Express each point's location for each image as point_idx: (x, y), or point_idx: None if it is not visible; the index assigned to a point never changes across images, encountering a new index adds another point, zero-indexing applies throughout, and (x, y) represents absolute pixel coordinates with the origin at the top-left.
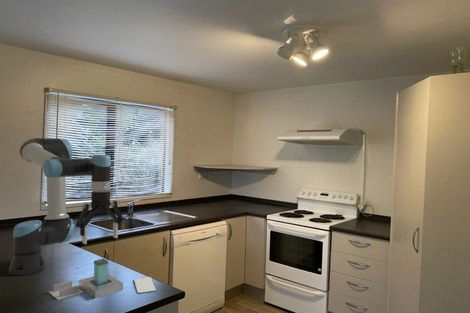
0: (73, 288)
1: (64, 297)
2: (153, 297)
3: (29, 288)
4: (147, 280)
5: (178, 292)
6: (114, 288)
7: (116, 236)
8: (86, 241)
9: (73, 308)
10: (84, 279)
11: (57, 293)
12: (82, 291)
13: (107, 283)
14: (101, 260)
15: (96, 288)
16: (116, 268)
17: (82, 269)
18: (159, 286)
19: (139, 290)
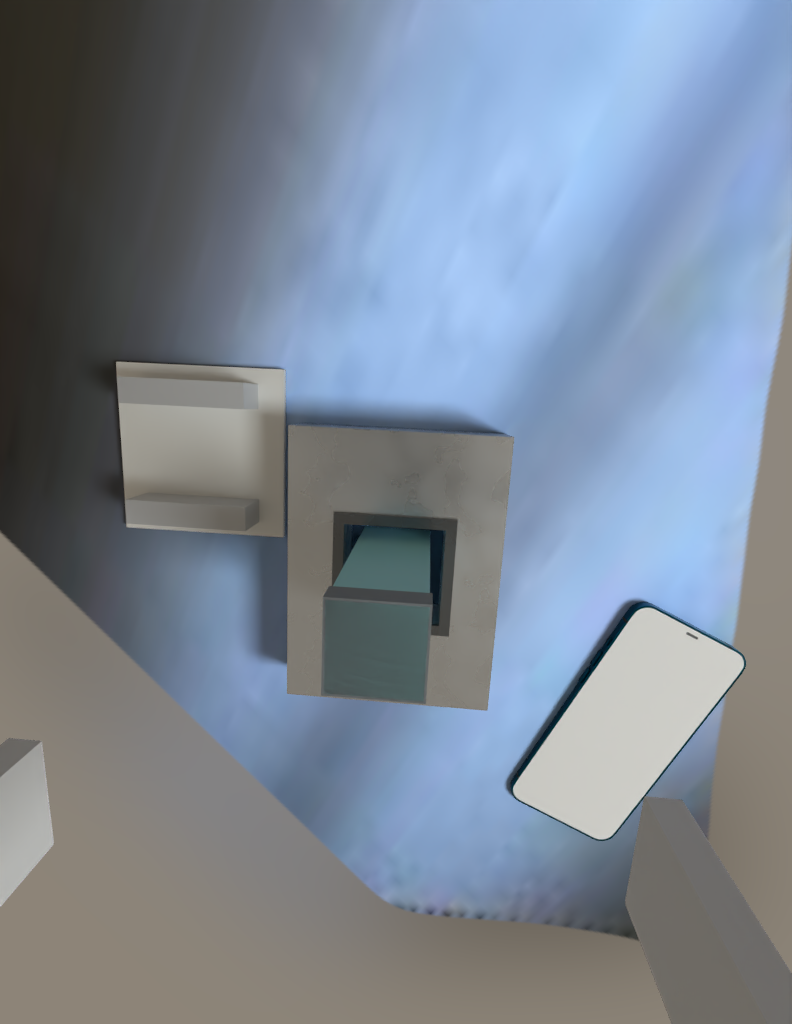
0: (211, 528)
1: (166, 529)
2: (534, 884)
3: (35, 169)
4: (683, 696)
5: None
6: None
7: (649, 937)
8: (13, 884)
9: (162, 688)
10: (326, 443)
11: (150, 440)
12: (281, 530)
13: None
14: (385, 645)
15: (311, 662)
16: (730, 252)
17: (508, 19)
18: None
19: (538, 774)
